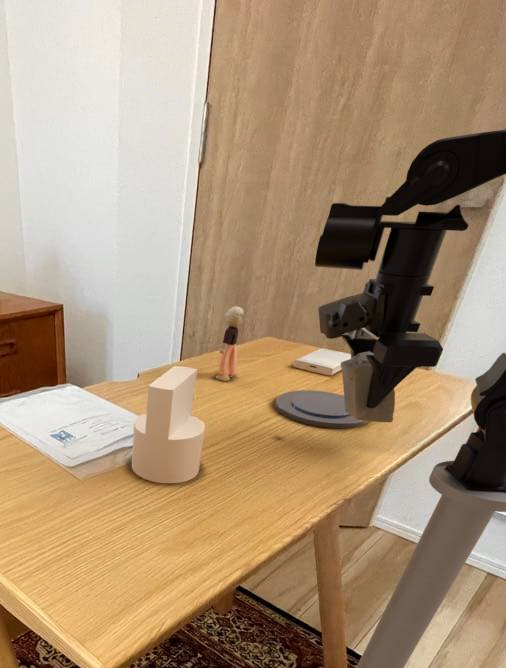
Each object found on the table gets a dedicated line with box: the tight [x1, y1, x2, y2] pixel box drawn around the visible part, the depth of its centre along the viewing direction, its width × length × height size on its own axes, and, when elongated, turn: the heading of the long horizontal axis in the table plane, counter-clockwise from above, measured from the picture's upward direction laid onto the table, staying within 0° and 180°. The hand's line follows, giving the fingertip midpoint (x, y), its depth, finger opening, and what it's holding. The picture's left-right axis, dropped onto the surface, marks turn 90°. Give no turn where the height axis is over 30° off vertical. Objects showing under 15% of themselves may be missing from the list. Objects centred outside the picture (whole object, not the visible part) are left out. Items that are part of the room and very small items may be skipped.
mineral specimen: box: [341, 351, 396, 423], centre depth 67 cm, size 7×9×8 cm
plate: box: [274, 389, 368, 429], centre depth 83 cm, size 15×15×1 cm
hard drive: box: [292, 348, 351, 376], centre depth 103 cm, size 2×8×12 cm
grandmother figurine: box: [215, 305, 245, 382], centre depth 93 cm, size 8×4×13 cm, turn 162°
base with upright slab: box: [131, 365, 206, 484], centre depth 62 cm, size 9×9×12 cm
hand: (362, 399), depth 68 cm, fingers closed on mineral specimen, 6 cm apart
